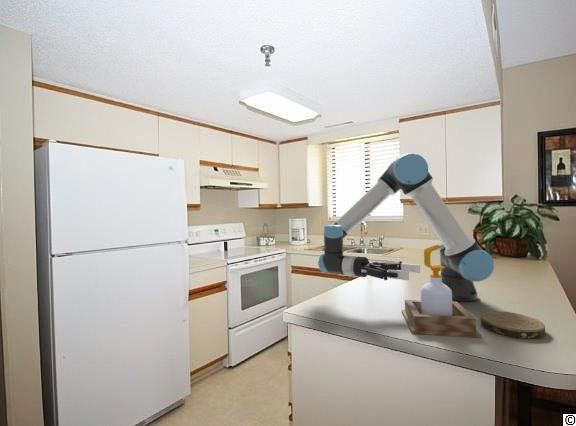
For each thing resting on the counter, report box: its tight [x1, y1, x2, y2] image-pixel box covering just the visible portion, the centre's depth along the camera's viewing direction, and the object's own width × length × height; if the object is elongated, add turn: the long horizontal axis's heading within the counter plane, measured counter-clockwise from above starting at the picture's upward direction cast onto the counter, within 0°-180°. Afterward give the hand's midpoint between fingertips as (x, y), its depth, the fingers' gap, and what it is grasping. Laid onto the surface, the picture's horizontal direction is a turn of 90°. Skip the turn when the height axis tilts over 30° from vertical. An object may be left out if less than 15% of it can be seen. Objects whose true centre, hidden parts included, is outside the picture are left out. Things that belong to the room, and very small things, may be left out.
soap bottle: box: [420, 244, 453, 316], centre depth 98 cm, size 9×9×25 cm
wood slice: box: [480, 310, 546, 341], centre depth 93 cm, size 16×16×3 cm
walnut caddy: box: [401, 299, 483, 339], centre depth 99 cm, size 19×19×5 cm
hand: (414, 272), depth 102 cm, fingers open, 13 cm apart
